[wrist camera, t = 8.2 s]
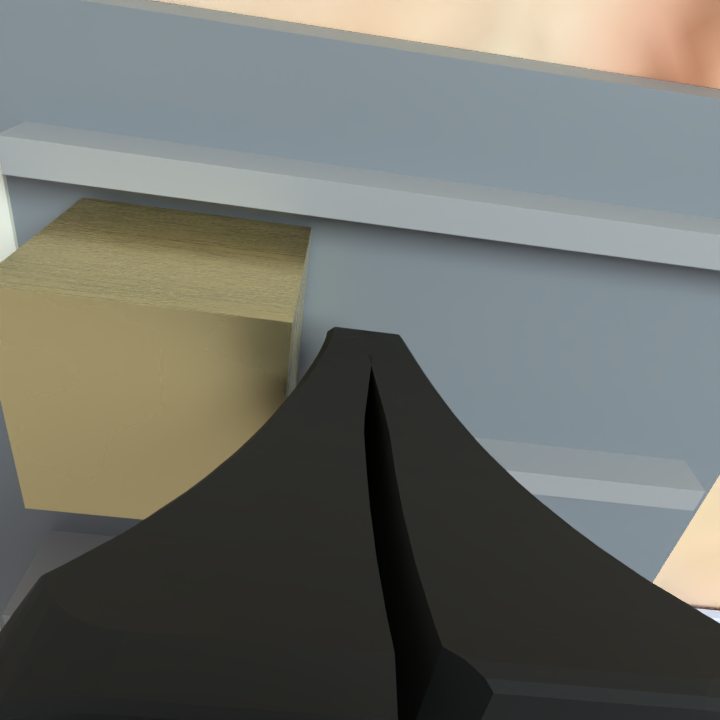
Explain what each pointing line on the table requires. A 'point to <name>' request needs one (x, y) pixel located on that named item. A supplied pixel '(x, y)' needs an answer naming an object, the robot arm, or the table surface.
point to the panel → (409, 233)
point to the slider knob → (144, 350)
